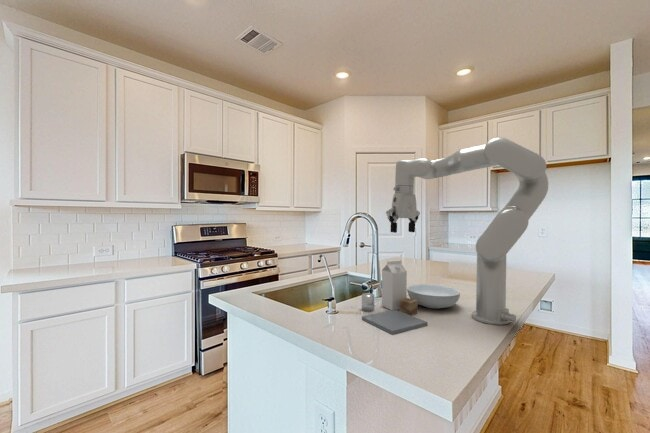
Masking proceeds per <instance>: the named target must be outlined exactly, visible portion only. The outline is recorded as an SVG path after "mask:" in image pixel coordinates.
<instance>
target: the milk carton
mask: <svg viewBox="0 0 650 433" xmlns="http://www.w3.org/2000/svg"><path fill="white" fill-rule="evenodd" d="M407 271H408V270H406V268H405V267H404V265H403V263H402V260H392V261H390V260H389V261H386V265H385V266H383V268H382V269H381V306H382V307H384V308H385V309H388V310H389V311H390V310H394V309H396V310H398V311H399V300H402V299H404V298H408V297H407V296H408V292H407V287H408V286H407V285H408V283H407V278H408V277H407V276H408V275H407V274H408V273H407Z"/></svg>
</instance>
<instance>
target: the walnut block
mask: <svg viewBox="0 0 650 433" xmlns="http://www.w3.org/2000/svg"><path fill="white" fill-rule="evenodd" d="M418 305H419V304H418V300H414V299H410V297H407V298H404V299H402V300H399V310H398V311H401V312H403V313H406V314H408V315H411V316H414V315H416V314H418V307H419V306H418Z"/></svg>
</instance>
